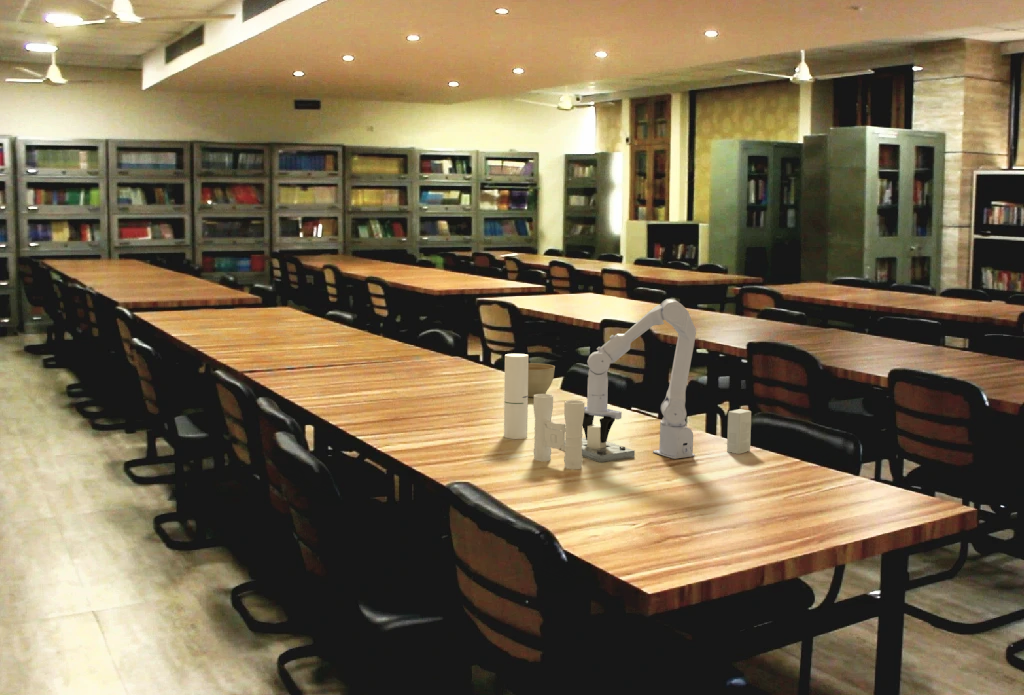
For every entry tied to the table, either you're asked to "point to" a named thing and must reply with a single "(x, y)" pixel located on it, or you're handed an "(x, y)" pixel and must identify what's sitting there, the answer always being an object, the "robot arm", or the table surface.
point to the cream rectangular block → (594, 437)
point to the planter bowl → (539, 378)
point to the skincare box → (739, 431)
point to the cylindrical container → (516, 396)
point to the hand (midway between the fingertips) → (596, 440)
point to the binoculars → (558, 431)
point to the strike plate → (606, 452)
